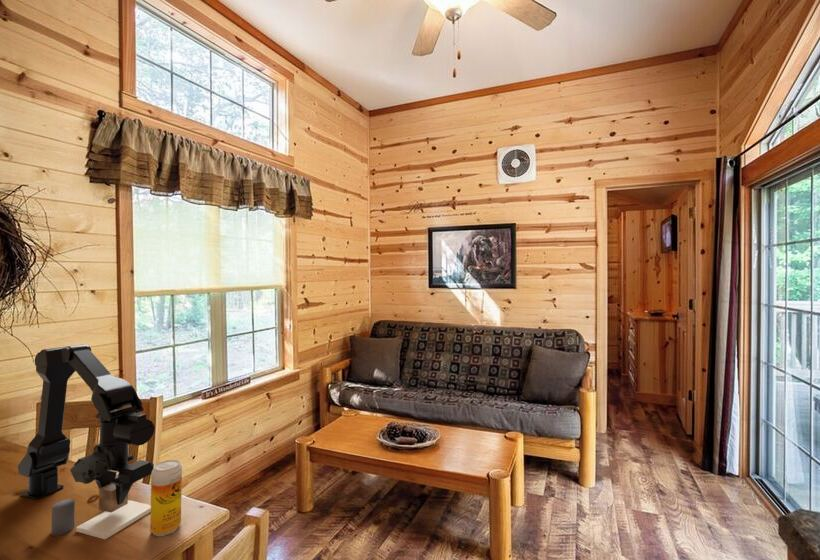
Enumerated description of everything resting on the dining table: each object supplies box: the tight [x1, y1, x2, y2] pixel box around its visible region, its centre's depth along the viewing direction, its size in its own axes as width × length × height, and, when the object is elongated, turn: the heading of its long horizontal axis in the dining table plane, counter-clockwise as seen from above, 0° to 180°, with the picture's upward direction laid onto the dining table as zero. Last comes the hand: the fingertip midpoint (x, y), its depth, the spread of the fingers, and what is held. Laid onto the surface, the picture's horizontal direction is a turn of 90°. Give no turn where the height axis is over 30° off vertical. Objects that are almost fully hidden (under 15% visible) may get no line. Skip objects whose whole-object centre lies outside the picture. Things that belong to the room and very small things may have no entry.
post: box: [50, 498, 76, 536], centre depth 91 cm, size 4×4×6 cm
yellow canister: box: [149, 459, 183, 537], centre depth 92 cm, size 6×6×15 cm
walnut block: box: [98, 483, 129, 512], centre depth 96 cm, size 4×4×5 cm
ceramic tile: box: [75, 499, 151, 540], centre depth 95 cm, size 9×12×1 cm
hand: (113, 502), depth 96 cm, fingers closed on walnut block, 4 cm apart
